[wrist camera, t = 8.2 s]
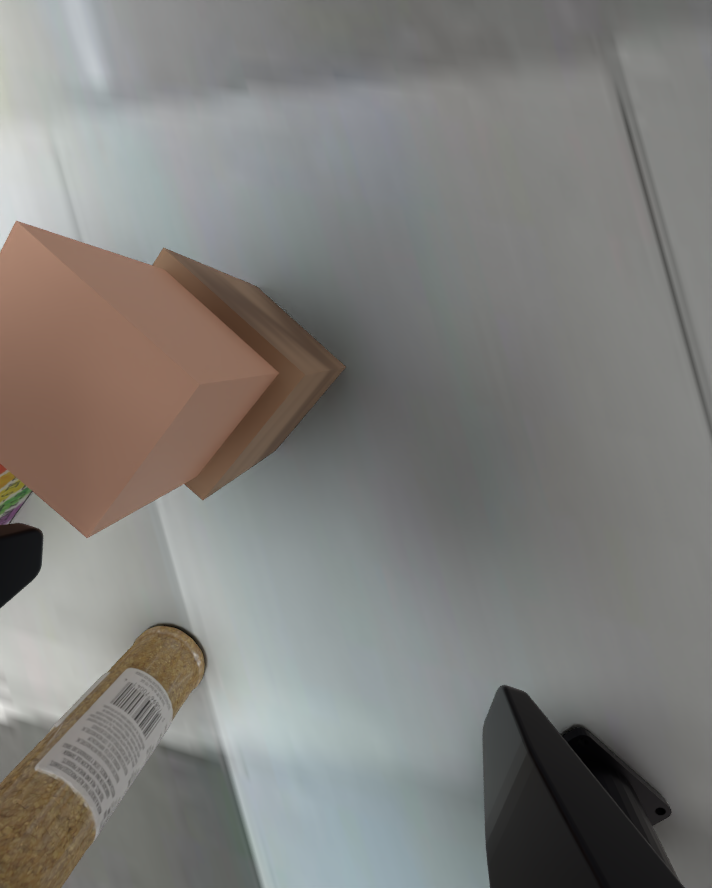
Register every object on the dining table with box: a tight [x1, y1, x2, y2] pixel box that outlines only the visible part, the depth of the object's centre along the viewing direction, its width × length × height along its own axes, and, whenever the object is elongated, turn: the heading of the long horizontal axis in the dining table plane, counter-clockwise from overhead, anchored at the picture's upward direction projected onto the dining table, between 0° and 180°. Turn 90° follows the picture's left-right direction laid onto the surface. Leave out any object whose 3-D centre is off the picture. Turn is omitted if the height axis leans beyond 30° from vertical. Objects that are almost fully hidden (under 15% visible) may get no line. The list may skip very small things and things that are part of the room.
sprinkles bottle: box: [0, 626, 205, 888], centre depth 17 cm, size 5×5×14 cm
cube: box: [0, 221, 279, 538], centre depth 10 cm, size 4×4×4 cm
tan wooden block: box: [152, 248, 346, 500], centre depth 16 cm, size 6×6×7 cm
